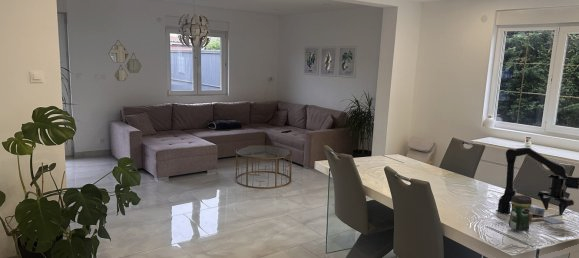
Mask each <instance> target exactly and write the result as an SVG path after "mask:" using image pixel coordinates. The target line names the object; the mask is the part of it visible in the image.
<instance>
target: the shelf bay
mask: <svg viewBox="0 0 579 258" xmlns="http://www.w3.org/2000/svg"><path fill="white" fill-rule="evenodd" d="M533 216H534V215H533V214H532V213H529V223H530V222H539V221H541V222H542V221H543V218H544V217H534V218H533ZM543 222H544V221H543Z"/></svg>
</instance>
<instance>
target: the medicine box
mask: <svg viewBox="0 0 579 258" xmlns="http://www.w3.org/2000/svg"><path fill="white" fill-rule="evenodd" d="M545 211H546V210H545V208H543V207H540V206H538V205H534V204H531V207H530V212H529V213H532V214H533V216H540V217H544V215H545Z"/></svg>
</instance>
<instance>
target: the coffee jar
mask: <svg viewBox="0 0 579 258" xmlns="http://www.w3.org/2000/svg"><path fill="white" fill-rule="evenodd" d="M532 202H533V201H532V197H531V196H529V195H526V194H525V195H524V194H523V195H522V194H520V195H517V194H516V196H514V195H513V196H512V199H511V202H510V203H511V208H510V212H511V214H510V215H509V221H508V227H509V228H510V229H511V230H515V231H518V232H519V231H520V232H521V231H529V229H530V221H529V212H530V207H531V205H533V203H532Z"/></svg>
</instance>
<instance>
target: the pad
mask: <svg viewBox="0 0 579 258" xmlns="http://www.w3.org/2000/svg"><path fill="white" fill-rule="evenodd" d="M542 218H543V222H547V223H549V224H551V225H555V224H557V225H558V224H565V221H562V220H559V219H557V218H555V217H542Z"/></svg>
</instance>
